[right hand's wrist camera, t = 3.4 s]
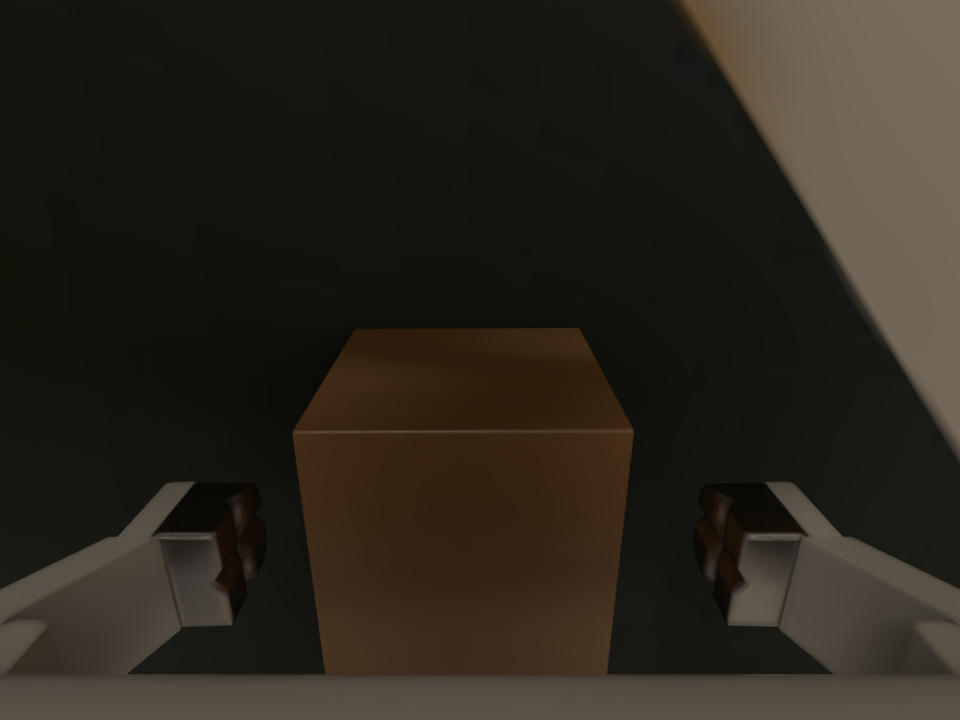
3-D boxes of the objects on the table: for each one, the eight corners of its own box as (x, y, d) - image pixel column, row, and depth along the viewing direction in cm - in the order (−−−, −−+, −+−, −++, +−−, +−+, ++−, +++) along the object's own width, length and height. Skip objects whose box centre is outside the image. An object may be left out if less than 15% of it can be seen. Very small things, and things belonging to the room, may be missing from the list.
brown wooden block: (371, 527, 14) (326, 695, 10) (354, 328, 12) (290, 431, 8) (566, 526, 14) (606, 693, 10) (580, 327, 12) (635, 430, 8)
